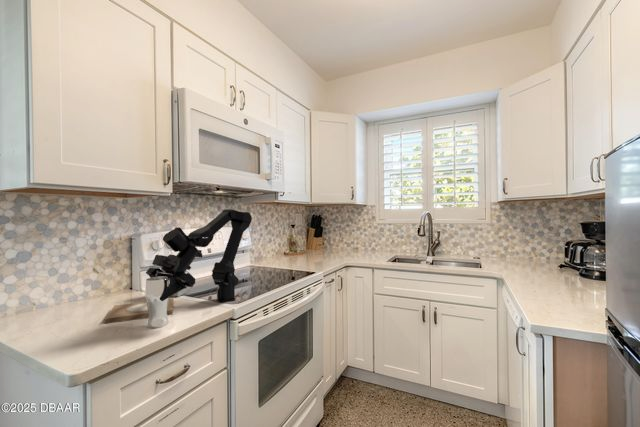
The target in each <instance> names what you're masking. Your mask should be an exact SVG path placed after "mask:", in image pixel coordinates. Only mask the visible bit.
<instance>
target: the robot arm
mask: <svg viewBox="0 0 640 427" xmlns="http://www.w3.org/2000/svg"><path fill="white" fill-rule="evenodd" d="M252 220H253V219H252V215H251V213H250V212H249V211H239V210H235V209H233V208H232V209H229V208H227V209H226V208H225V209H223V210H222V212H221V213H220V214H218V215H217V216H215V217H214V218H213V219H212V220H211V221H210V222H208V223H207V224H206V225H205V226H202V227H200V228H197V229H195V230H193V231H191V232H189V234H186V233H185V232H184V231H183V229H182V228H181V227H177V226H175V227H174V229H172V230H170V231H168V232H167V233H165V234H164V236H163V237H162V241H163V243H165V244H166V245H167V246H168V247H169V248H170V249H171V250H172V251H173V252H175V253H176V252H177V254H176V255H175V254H170V253H169V254H168V256H167V255H162V254H155V256H154V259H153V261H152V263H151V264H152V265H154V266H159V267H149V268H148V269H147V270H146V272H145V274H147V276H149V277H148V278H152V277H160V276H166V277H169V279H170V283H169V285H168V287H167V288H166V290H165V291H164V293H163V294H162V296H161V298H160V300H161V301H164V300H166V299H167V298H169V299H170V297H173V296H172V295H174V294H175V293H177V292H179V291H181V290H183V289H186V288H187V289H188V288H194V285H196V278H195V277H194V276H193V275H192V274H191V273H190V272H189V271H190V270H191V269H192V266H191V264H192V263H193V262H194V260H195V259H196V258H203V253H202V249H198V248H206V247H208V246H209V245H210V244H211V242H212V241H213V240H214V236H215V235H216V234H217V232H219V231H220V230H221V229H222V228H223V227H224V226H225V225H226V224H228V223H229V222H230V225H231V232H230V235H229V238H228V240H227V243H226V247H225V249H224V253H223V254H222V258H221V260H220V261H219V262H218V261H217V262H214V265H213V268H212V270H211V272H212V273H211V278H212V279H213V280H212V281H213V282H214V286H217V288H216V299H217V300H218V302H219V303H223V302H231V301H236V297H235V292H236V291H235V290H236V289H235V287H236V286H237V285H238V286H239V281H240V279H239V278H238V277H237V276H236V275H235V272H236V269H235V264H234V263H235V259H236V255H237V253H238V250H239V246H240V244H241V241H242V238H243V234H244V232H245V231H246V230H247V229H248V228H249V226H251V223H252ZM161 267H162V268H161ZM161 269H162V270H164V271H165V273H164V272H163V271H162V270H161ZM188 270H189V271H188ZM186 286H187V287H186Z"/></svg>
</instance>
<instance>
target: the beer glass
mask: <svg viewBox="0 0 640 427" xmlns="http://www.w3.org/2000/svg"><path fill="white" fill-rule="evenodd" d="M168 285H169V277H166V276H160V277H152V278H150V277H148V278H146V279H145V289H144V290H145V292H144V294H145V302H146V303H147V308H148V314H149V317H148V319H147V323H146V324H147V326H146V327H147V328H149V329H157V328H161V327H165V326H167V325H168V324H169V318H168V315H167V307H168V302H169V299H170V297H169V298H167V299H166V300H164V301H161V300H160V298H161V296H162V294H163V293H164V291H165V290H166V288H167V287H168Z"/></svg>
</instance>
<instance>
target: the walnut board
mask: <svg viewBox="0 0 640 427" xmlns="http://www.w3.org/2000/svg"><path fill="white" fill-rule="evenodd" d="M174 303H175V301H174V298H169V302H168V307H167V316H169V315H174V313H173V312H174ZM147 318H149V314H148V308H147V303H146V301H141V302H132V303H124V304H115V305H113V307H112V308H111V310H110V311H109V313H108V314H107V315H106V316H105V318H104V324H109V323H117V322H118V323H119V322H124V321H133V320H140V319H147Z"/></svg>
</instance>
